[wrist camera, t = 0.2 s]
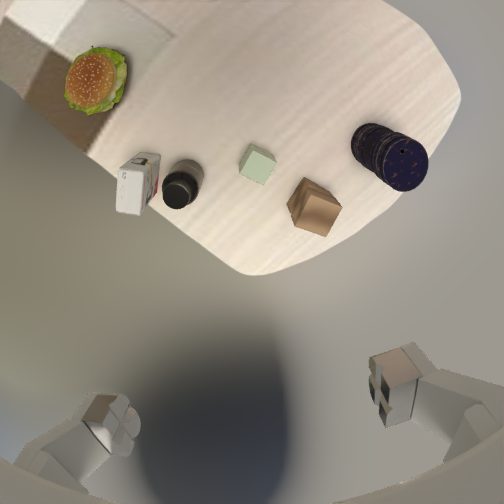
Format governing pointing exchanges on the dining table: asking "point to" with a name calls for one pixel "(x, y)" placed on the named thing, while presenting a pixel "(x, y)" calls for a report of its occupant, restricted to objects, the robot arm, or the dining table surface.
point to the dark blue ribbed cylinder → (390, 156)
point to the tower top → (315, 211)
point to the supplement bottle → (182, 184)
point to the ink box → (137, 183)
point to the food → (96, 80)
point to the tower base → (299, 190)
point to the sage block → (257, 164)
